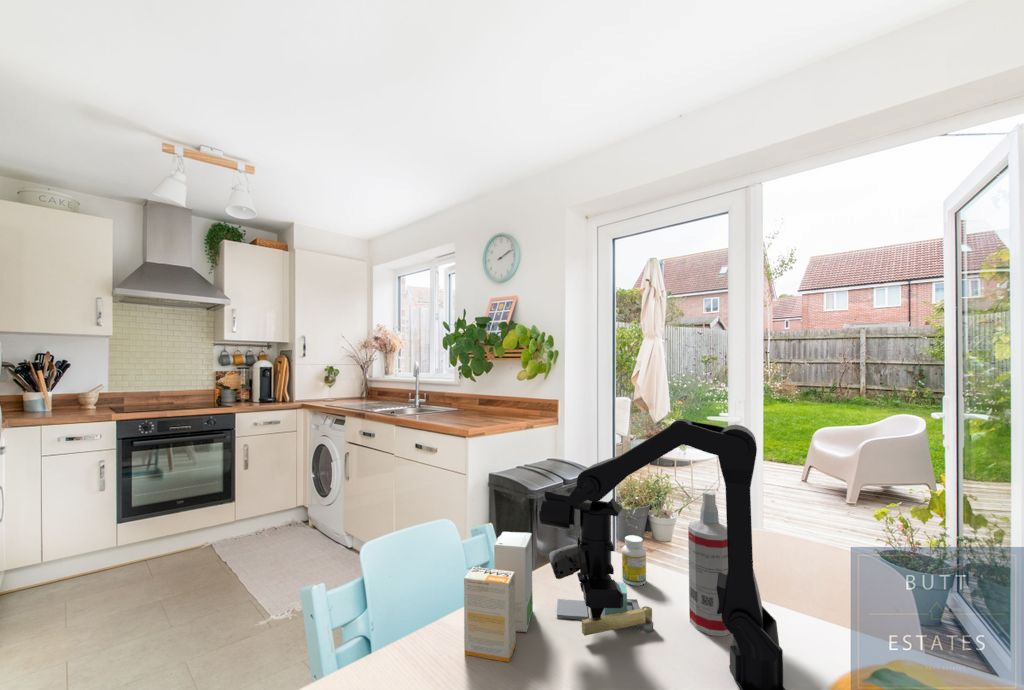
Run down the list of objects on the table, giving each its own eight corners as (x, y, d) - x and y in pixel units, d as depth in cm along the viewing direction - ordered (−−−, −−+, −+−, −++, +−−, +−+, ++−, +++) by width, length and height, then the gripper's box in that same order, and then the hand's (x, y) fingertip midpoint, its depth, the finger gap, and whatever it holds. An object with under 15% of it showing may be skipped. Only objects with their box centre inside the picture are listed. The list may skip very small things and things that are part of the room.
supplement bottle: (645, 588, 100) (645, 544, 101) (620, 584, 102) (620, 541, 102) (646, 577, 105) (646, 535, 106) (623, 573, 107) (623, 532, 107)
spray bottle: (712, 640, 81) (710, 500, 82) (681, 618, 88) (679, 490, 89) (742, 629, 85) (739, 495, 86) (709, 609, 91) (707, 485, 92)
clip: (648, 617, 86) (648, 605, 86) (654, 622, 84) (654, 610, 84) (580, 631, 81) (580, 618, 81) (585, 637, 80) (585, 624, 80)
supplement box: (516, 646, 79) (516, 570, 80) (508, 663, 75) (509, 583, 75) (472, 638, 81) (473, 565, 82) (462, 655, 77) (463, 577, 77)
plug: (631, 610, 91) (631, 580, 91) (634, 629, 85) (633, 597, 85) (598, 607, 92) (598, 577, 93) (598, 625, 86) (598, 593, 86)
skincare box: (526, 634, 83) (526, 548, 84) (491, 629, 84) (492, 545, 85) (533, 609, 91) (533, 532, 92) (501, 606, 92) (502, 529, 93)
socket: (645, 605, 93) (645, 600, 93) (654, 632, 84) (654, 625, 84) (589, 602, 94) (589, 596, 94) (591, 628, 85) (591, 621, 85)
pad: (586, 603, 93) (586, 600, 93) (588, 619, 87) (588, 616, 88) (557, 601, 94) (557, 599, 94) (557, 617, 88) (557, 614, 88)
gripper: (548, 515, 93) (548, 592, 92) (556, 556, 74) (556, 652, 74) (602, 516, 92) (602, 592, 92) (624, 557, 74) (624, 653, 73)
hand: (595, 619), depth 83 cm, fingers closed
